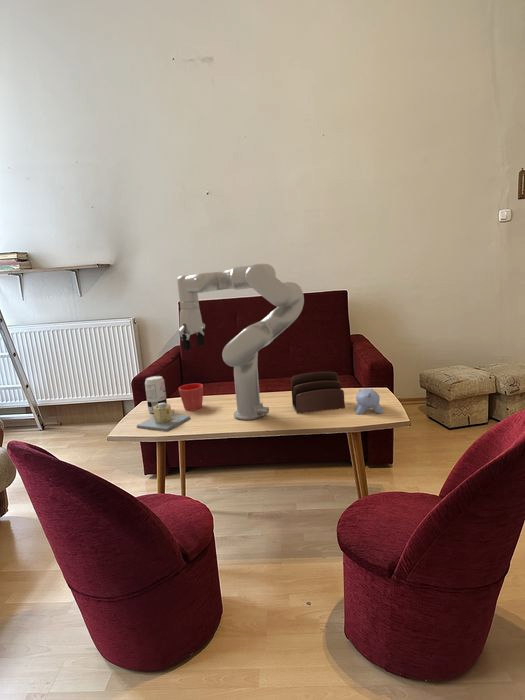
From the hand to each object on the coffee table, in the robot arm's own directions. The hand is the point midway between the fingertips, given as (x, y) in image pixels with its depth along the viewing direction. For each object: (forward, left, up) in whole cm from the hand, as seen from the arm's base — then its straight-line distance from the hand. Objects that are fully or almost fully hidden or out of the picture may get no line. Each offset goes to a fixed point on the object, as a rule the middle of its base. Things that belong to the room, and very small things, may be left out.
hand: (194, 347), depth 185 cm
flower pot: (+8, -5, -28) cm, 30 cm away
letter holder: (-46, -18, -29) cm, 57 cm away
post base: (+8, +15, -28) cm, 33 cm away
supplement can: (+21, +3, -28) cm, 35 cm away
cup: (+7, +15, -27) cm, 32 cm away
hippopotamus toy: (-66, -19, -29) cm, 74 cm away
